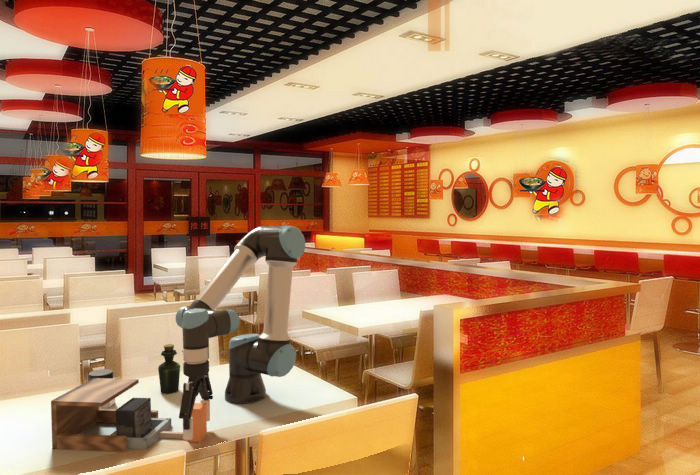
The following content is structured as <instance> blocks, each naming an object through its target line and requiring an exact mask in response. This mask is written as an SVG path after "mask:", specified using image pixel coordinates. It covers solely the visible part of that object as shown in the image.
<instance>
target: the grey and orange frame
mask: <svg viewBox="0 0 700 475" xmlns="http://www.w3.org/2000/svg"><path fill="white" fill-rule="evenodd" d="M191 417H193V439H192V440H187V442H188V443H189V442H192V443H201V442H202V441H203V440H204V439H205V438H206V436H207V433H208V428H207V426H208V424H207V422H208V421H207V417H206V403H201V402H195V403H194V407H193V411H192V415H191ZM151 424H152V430H151V431H150V432H149V433H148V434H147V435H145V436H144V437H143V438H133V437H127V449H137V450H138V449H141V450H147V449H148V448H149V447H151V445H153V443H155V442H156V441H157V440H158V439H159V438H161V439H181V440H183V431H170V430H169V431H168V429H170V428H171V427H172V417H158V418H151ZM153 428H154V429H153ZM110 435H113V436H116V430H114V431H113V432H112V433H110ZM155 440H156V441H155ZM154 441H155V442H154Z"/></svg>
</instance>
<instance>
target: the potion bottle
mask: <svg viewBox="0 0 700 475" xmlns="http://www.w3.org/2000/svg"><path fill="white" fill-rule="evenodd" d="M174 346H175V344H172V343H168V344H164V345H163V349H164V350H162V351H161V353H160V356H161V357H163V358H164V361H163V362H162V363H160V364H159V366H158V367H157V370H158V377H159V378H158V379H159V387H160V393H161V394H163V395H171V394H176V393H177V392H178V391H179V390H180V378H181V377H180V376H181V374H180V373H181V365H180V363H179V362H177V361H174V358H175V356H176V355H177V354H178V353H177V350H176V349H174V348H175V347H174Z"/></svg>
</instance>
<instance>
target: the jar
mask: <svg viewBox="0 0 700 475" xmlns="http://www.w3.org/2000/svg"><path fill="white" fill-rule="evenodd" d="M87 375H88V378H87V381H89V380H91V379H93V378H110V379H116V378H115V376H114V370H113V369H111V368H103V369H96V370H92V371H90V372H88V374H87ZM115 403H116V398H114V399H113V400H111V401H110V402H108V403H107V404H105V405H104V406H102V407H99V408H100V409H109V408H111V407H112V406H113V405H114V404H115Z"/></svg>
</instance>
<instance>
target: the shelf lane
mask: <svg viewBox="0 0 700 475" xmlns="http://www.w3.org/2000/svg"><path fill="white" fill-rule="evenodd" d="M139 381H140V380H139V378H137V379H136V378H115V379H110V378H93V379H91V380H89V381H88V380H87V381H86V382H84V383H82V384H79V385H78V386H75V388H73V389H70V390H69V391H67V392H65V393H63V394H61V395H59V396H57V397H56V398H54V399H52V400H51V401H50V406H51V407H50V412H51V413H50V414H51V415H50V418H51V448H52V450H72V451H73V450H74V451H91V452H92V451H94V452H95V451H96V452H114V453H115V452H116V453H117V452H118V453H119V452H121V453H122V452H123V453H125V452H126V451H127V450H128V448H127V436H113V435H111V434H109V435H108V434H107V435H106V434H89V433H88V434H85V433H83V432H85V431H86V430H87V429H88V428H90V427H92V426H93V425H95V424H96V423H111V424H112V423H114V424H116V411H115V410H117V409H118V408H103V409H100V408H99V407H102V406H104V405H105V404H107V403H108V402H110V401H111V400H113V399H114V398H115V399H116V398H117V397H119V396H121V395H122V394H124V393H126V392H127V391H129V390H130V389H132V388H133V387H135V386H136V385H138V384H139ZM151 418H159V410H158V409H156V410H155V409H151Z"/></svg>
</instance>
